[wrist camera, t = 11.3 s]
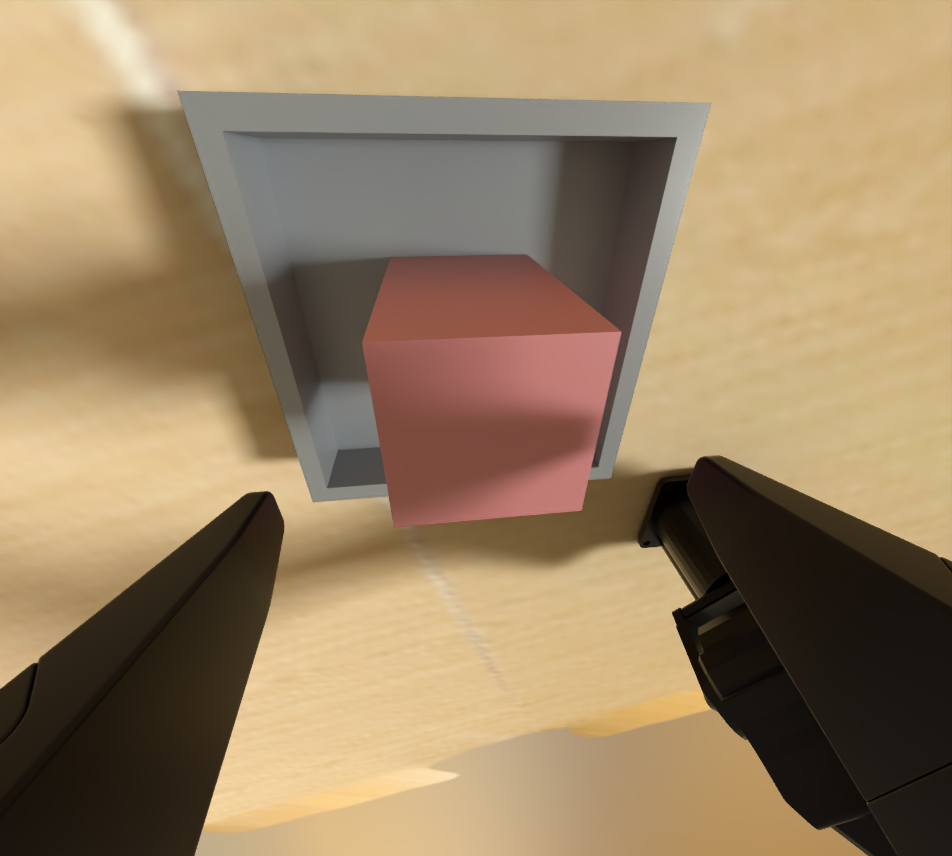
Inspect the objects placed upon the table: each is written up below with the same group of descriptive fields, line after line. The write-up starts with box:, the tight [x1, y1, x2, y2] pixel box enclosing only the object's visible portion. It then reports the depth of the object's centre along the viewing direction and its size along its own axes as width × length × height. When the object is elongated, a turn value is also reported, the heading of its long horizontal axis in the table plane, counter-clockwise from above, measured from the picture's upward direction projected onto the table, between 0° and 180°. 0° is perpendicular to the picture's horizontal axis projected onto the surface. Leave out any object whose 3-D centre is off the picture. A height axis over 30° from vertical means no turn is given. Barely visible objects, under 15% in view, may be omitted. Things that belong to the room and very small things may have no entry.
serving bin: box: [177, 91, 711, 502], centre depth 16 cm, size 15×15×4 cm
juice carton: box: [362, 254, 621, 527], centre depth 13 cm, size 6×6×9 cm
